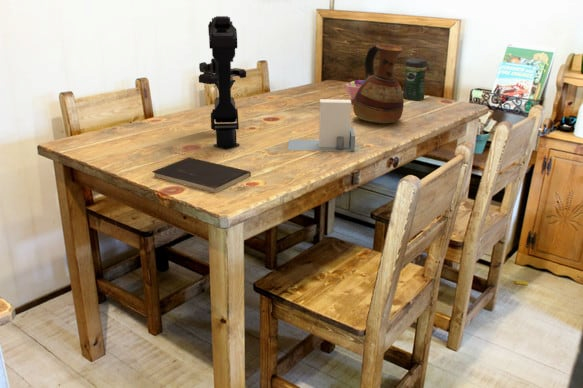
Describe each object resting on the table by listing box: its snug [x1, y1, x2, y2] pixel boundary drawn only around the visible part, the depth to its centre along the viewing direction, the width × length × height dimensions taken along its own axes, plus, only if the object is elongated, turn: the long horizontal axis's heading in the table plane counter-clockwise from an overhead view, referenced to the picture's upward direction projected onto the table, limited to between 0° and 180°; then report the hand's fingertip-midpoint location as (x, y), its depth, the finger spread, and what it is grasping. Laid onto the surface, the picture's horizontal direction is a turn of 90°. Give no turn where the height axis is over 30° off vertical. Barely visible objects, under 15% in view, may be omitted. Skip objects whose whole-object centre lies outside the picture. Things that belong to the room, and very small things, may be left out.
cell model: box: [345, 79, 366, 100], centre depth 250 cm, size 17×20×11 cm
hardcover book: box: [152, 157, 252, 194], centre depth 158 cm, size 16×23×2 cm
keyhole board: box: [287, 125, 356, 152], centre depth 184 cm, size 22×12×6 cm, turn 88°
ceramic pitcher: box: [352, 42, 405, 124], centre depth 214 cm, size 20×20×30 cm
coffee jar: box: [402, 57, 428, 101], centre depth 256 cm, size 10×8×19 cm
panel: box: [318, 98, 352, 147], centre depth 181 cm, size 10×4×15 cm, turn 88°
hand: (223, 100), depth 197 cm, fingers closed
